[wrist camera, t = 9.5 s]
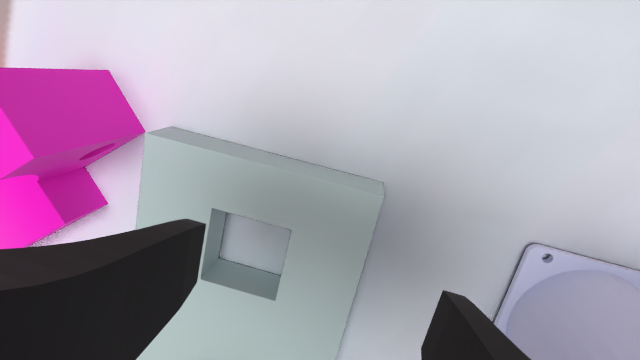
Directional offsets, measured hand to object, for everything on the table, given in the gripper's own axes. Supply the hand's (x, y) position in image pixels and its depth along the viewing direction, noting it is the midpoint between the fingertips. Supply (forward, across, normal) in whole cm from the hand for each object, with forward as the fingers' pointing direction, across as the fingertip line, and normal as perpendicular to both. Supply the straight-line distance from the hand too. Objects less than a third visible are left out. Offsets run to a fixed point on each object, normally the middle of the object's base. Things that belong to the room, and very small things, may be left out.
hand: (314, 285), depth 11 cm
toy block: (+10, +18, +4) cm, 21 cm away
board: (+10, +4, +9) cm, 14 cm away
